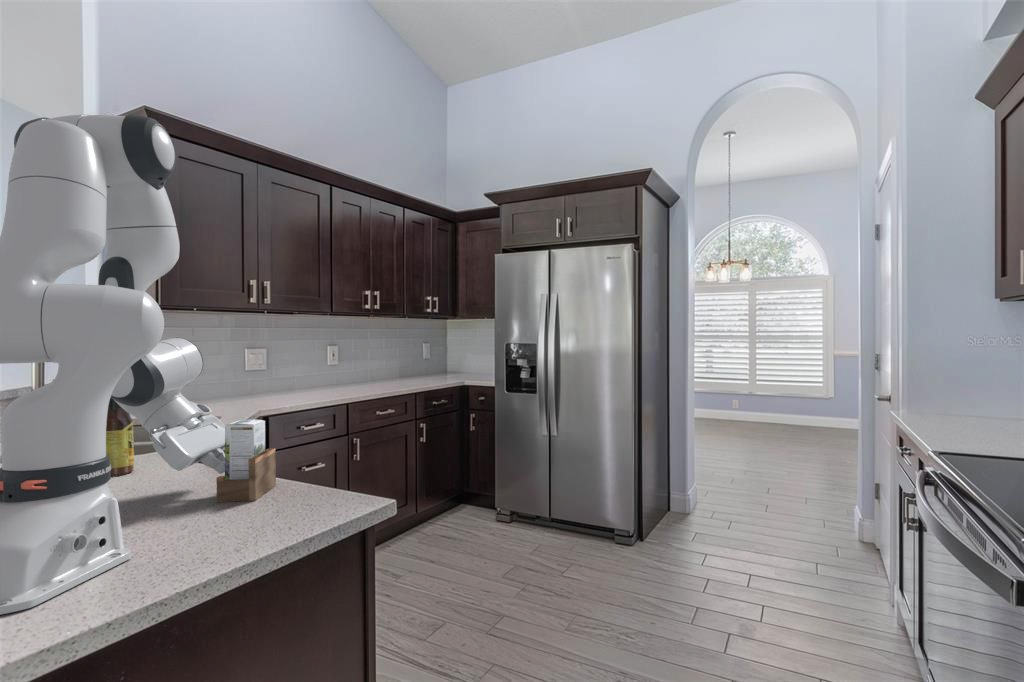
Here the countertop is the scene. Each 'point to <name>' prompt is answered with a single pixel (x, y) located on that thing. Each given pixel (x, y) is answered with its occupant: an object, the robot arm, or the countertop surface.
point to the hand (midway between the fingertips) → (227, 469)
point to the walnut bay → (250, 480)
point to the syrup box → (242, 446)
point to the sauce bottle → (119, 439)
